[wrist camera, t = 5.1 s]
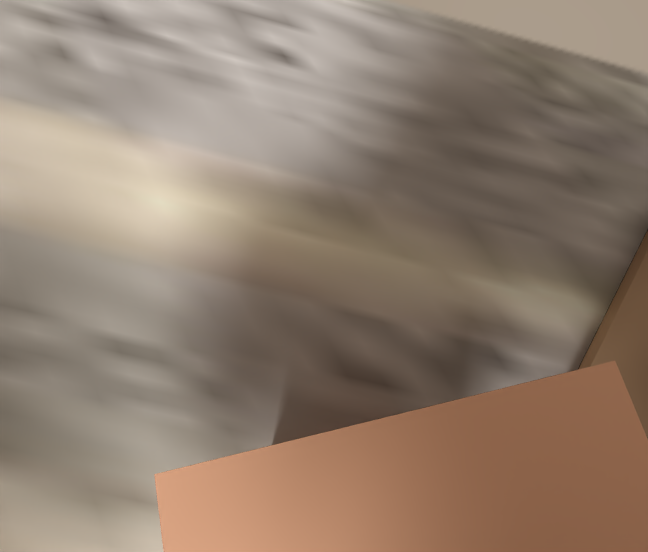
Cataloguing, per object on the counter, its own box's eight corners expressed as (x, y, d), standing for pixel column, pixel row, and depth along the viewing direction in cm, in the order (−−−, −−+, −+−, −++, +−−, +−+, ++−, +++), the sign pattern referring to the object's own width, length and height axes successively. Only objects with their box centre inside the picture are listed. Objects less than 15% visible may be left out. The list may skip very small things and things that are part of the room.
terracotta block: (447, 565, 15) (871, 980, 4) (301, 605, 15) (244, 1220, 3) (405, 414, 16) (615, 360, 5) (270, 447, 16) (154, 474, 4)
